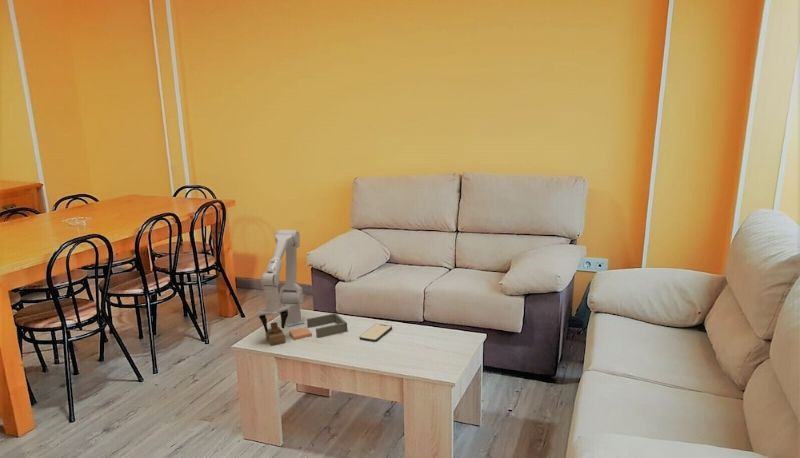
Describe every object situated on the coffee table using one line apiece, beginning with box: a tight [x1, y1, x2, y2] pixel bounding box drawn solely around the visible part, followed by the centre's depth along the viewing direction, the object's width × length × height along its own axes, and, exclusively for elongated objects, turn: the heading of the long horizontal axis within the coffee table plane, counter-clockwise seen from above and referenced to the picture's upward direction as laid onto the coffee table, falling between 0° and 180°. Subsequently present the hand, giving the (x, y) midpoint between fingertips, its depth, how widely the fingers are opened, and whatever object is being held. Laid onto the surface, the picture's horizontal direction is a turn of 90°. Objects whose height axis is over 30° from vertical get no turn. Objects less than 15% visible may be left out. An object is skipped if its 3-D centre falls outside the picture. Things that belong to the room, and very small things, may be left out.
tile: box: [288, 326, 313, 341], centre depth 260 cm, size 8×8×2 cm
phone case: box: [358, 323, 393, 343], centre depth 258 cm, size 9×2×16 cm
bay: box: [306, 312, 348, 339], centre depth 265 cm, size 14×14×4 cm
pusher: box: [265, 321, 286, 347], centre depth 254 cm, size 10×6×8 cm, turn 26°
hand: (274, 329), depth 254 cm, fingers open, 7 cm apart
